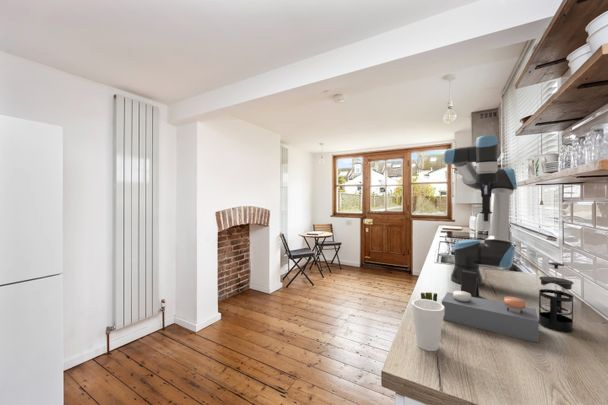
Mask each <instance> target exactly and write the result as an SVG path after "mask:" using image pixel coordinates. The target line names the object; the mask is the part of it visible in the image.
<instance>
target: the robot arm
mask: <svg viewBox="0 0 608 405" xmlns="http://www.w3.org/2000/svg"><path fill="white" fill-rule="evenodd" d="M498 139H499V138H498V136H497V135H496V134H493V135H492V134H490V135H489V134H487V135H481V136H479V137H476V139H475V145H471V146H461V147H453V148H447V149H445V150H444V153H443V162H444V163H445V165H453V166H454V167H455V169H456V171H457V172H458V174H459V175H460V180H461V182H462V183H463V184H465V186H467V187H469V188H471V189H475V190H479V191H480V192H481V193H480V196H481V199H482V200H481V204H482V205H481V206H482V210H481V211H480V214H481V215H482V216H481V218H482V221H481V222H482V223H481V228H482V230H488V235H487V236H488V237H487V238H484V242H483V243H482V242H480V240H479V239H461V240H456V241H455V242H454V248H453V250H454V267H453V270H452V273H451V274H450V281H452V282H454V283H456V284H460V285H461V283H462V271H463V270H467V271H473V272H478V283H479V286H482V285H483V284H484V280H483V277H482V273H481V271H480V266H487V267H494V268H498V269H499V268H500V269H501V268H502V269H511V267H512V266H513V263H514V260H515V253H516V246H514V245H513V244H512V241H511V240H510V239H509V229H510V228H509V225H510V201H511V200H510V199H511V198H510V197H511V196H512V195H513V193H514V191H515V190H517V189H518V185H517V179H516V178H517V176H516V172H515V169H513V168H512V167H511V168H509V167H508V168H505V167H503V168H499V167H498V164H499V161H498V159H499V158H500V157H501V154H502V152H501V150H502V149H501V148H500V147H499V145H498V143H499V141H498ZM473 163H475V165H474V164H473Z"/></svg>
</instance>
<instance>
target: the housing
mask: <svg viewBox="0 0 608 405" xmlns="http://www.w3.org/2000/svg"><path fill="white" fill-rule="evenodd" d="M441 304H442V305H443V306H444V307H445V315H444V317H443V321H449V322H452V323H456V324H460V325H465V326H469V327H473V328H476V329H481V330H485V331H489V332H493V333H496V334H500V335H505V336H509V337H512V336H513V338H516V337H517V339H520V338H521V340H524V341H529V342H532V343H536V342H537V344H538V343H539V342H540V340H539V338H540V337H539V332H540V331H539V329H540V326H539V325H540V324H539V315H538V313H537V309H536V308H532V307H527V306H526V308H525V309H521V313H516V312H511V311H509V307H508V306H506V305H505V304H504V302H502V301H496V300H491V299H484V298H480V297H478V298H476V297H471V301H467V302H462V301H457V300H456V299H454V298H453V292H448V291H447V292H446V294H445V295H444V297H443V298H442V300H441Z"/></svg>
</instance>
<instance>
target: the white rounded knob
mask: <svg viewBox="0 0 608 405" xmlns="http://www.w3.org/2000/svg"><path fill="white" fill-rule="evenodd" d="M452 293H453V298H454V299H456V300H457V301H462V302H467V301H471V294H470V293H468V292H464V291H461V290H453V292H452Z"/></svg>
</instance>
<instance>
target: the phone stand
mask: <svg viewBox="0 0 608 405" xmlns="http://www.w3.org/2000/svg"><path fill="white" fill-rule="evenodd" d="M460 291H464V292H468V293H470V294H471V297H476V298H480V296H481V295H480V285H479V283H478V272H473V271H467V270H463V271H462V283H461V284H460Z"/></svg>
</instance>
